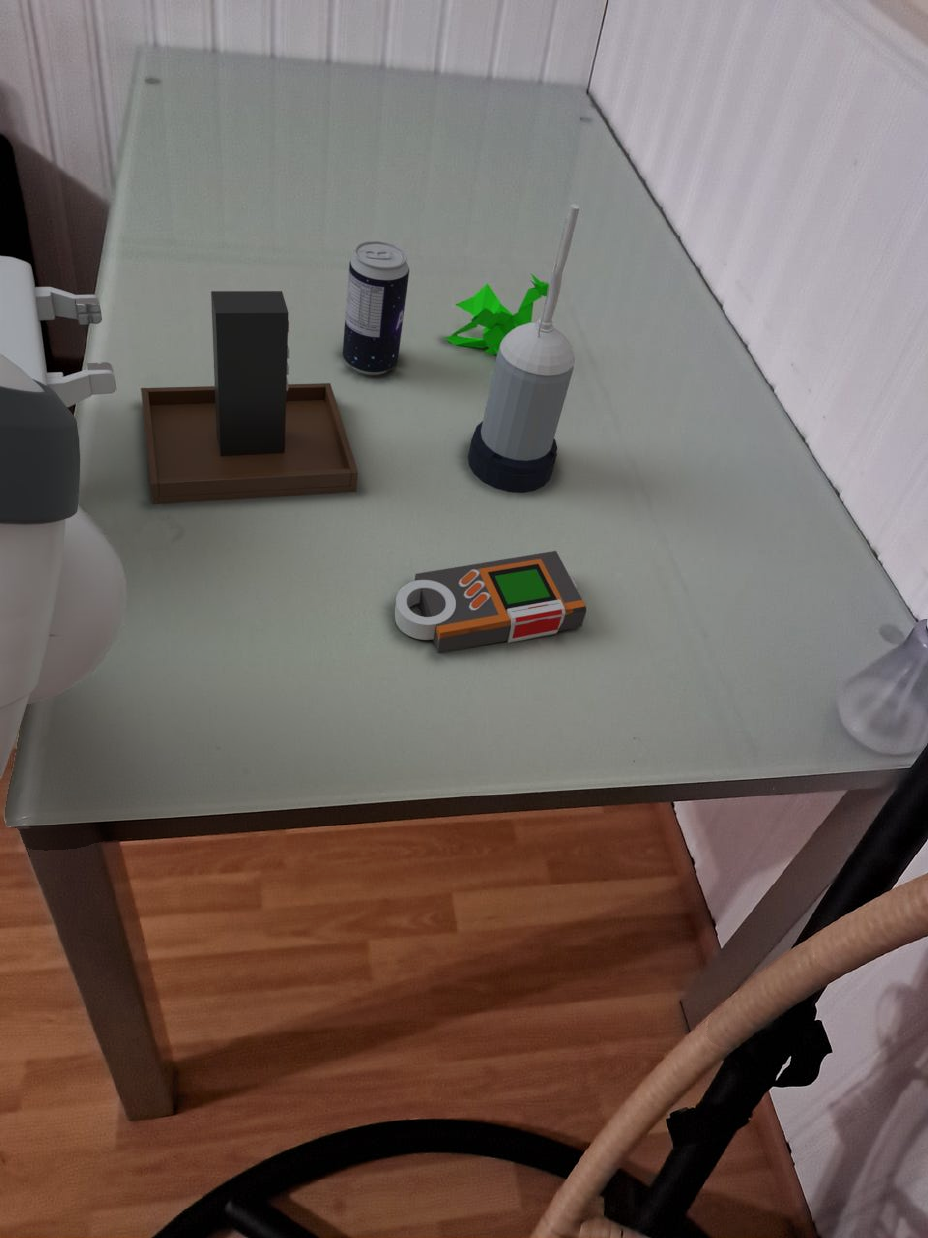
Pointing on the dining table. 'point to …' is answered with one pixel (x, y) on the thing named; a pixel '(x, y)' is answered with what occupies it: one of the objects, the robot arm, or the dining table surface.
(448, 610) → the electronic device
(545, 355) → the humidifier
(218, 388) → the tall dark grey prism
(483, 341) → the figurine
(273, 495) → the tray
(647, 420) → the dining table surface
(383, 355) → the beverage can
